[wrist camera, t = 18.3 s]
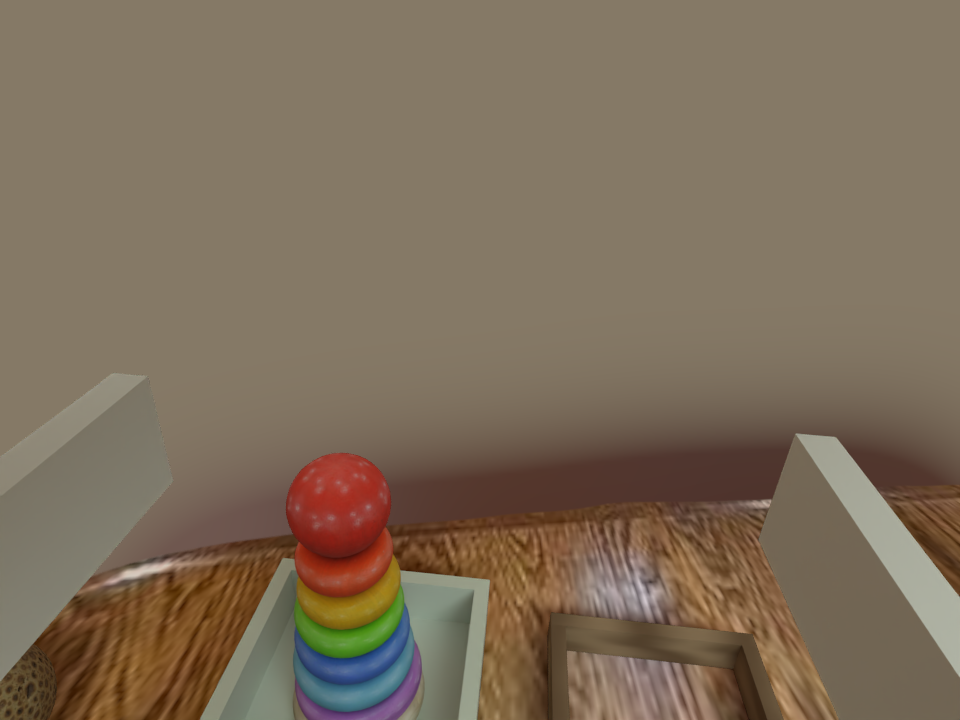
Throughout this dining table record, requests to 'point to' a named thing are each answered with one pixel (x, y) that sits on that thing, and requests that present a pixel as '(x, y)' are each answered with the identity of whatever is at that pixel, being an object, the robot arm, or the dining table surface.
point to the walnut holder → (657, 655)
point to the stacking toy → (349, 598)
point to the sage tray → (437, 632)
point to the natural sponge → (28, 688)
